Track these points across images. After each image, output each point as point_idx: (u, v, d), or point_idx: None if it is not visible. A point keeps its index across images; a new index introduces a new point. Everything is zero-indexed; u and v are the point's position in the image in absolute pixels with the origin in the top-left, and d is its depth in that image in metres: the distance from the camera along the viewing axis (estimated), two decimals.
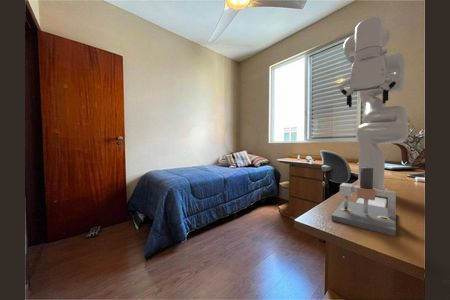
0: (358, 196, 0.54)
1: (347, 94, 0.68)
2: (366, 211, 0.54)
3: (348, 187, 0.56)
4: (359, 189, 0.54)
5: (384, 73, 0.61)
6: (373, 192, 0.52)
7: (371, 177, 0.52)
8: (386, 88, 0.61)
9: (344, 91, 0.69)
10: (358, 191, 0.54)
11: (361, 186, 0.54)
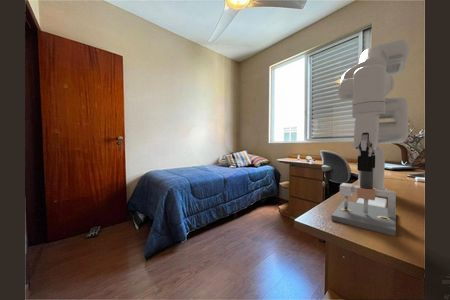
0: (358, 196, 0.54)
1: (370, 155, 0.48)
2: (366, 211, 0.54)
3: (348, 187, 0.56)
4: (359, 189, 0.54)
5: None
6: (373, 192, 0.52)
7: (371, 177, 0.52)
8: None
9: (368, 149, 0.48)
10: (358, 191, 0.54)
11: (361, 186, 0.54)
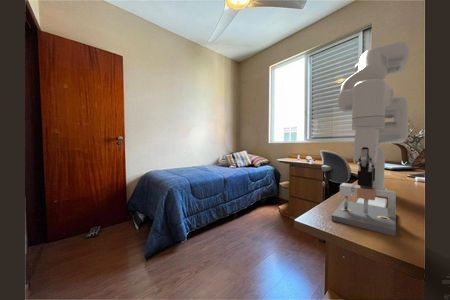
0: (358, 196, 0.54)
1: (370, 170, 0.49)
2: (366, 211, 0.54)
3: (348, 187, 0.56)
4: (359, 189, 0.54)
5: None
6: (373, 192, 0.52)
7: None
8: None
9: (368, 165, 0.48)
10: (358, 191, 0.54)
11: (361, 186, 0.54)
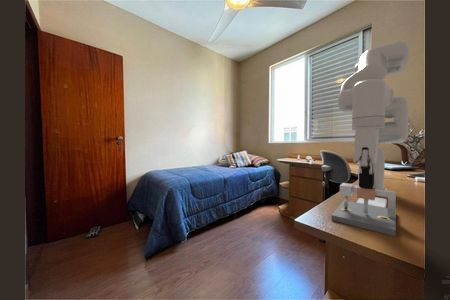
0: (358, 196, 0.54)
1: None
2: (366, 211, 0.54)
3: (348, 187, 0.56)
4: (359, 189, 0.54)
5: None
6: (373, 192, 0.52)
7: None
8: None
9: None
10: (357, 191, 0.54)
11: None
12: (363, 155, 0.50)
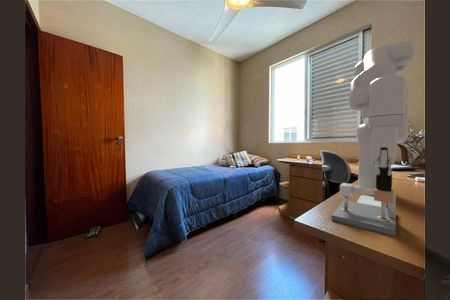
0: (375, 199, 0.51)
1: None
2: (384, 215, 0.51)
3: (348, 187, 0.56)
4: (376, 191, 0.51)
5: None
6: (392, 195, 0.49)
7: None
8: None
9: None
10: (375, 194, 0.51)
11: None
12: (382, 156, 0.47)
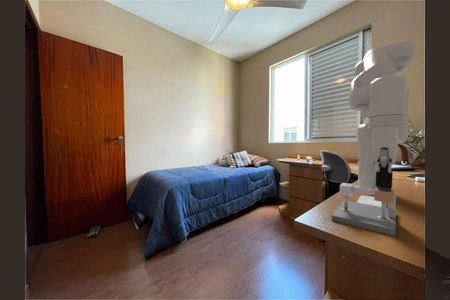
0: (375, 199, 0.51)
1: (390, 171, 0.46)
2: (384, 215, 0.51)
3: (348, 187, 0.56)
4: (377, 191, 0.51)
5: None
6: (392, 195, 0.49)
7: None
8: None
9: None
10: (375, 194, 0.51)
11: (379, 188, 0.51)
12: None
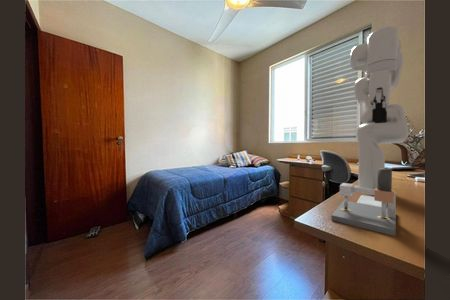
0: (375, 199, 0.51)
1: None
2: (384, 215, 0.51)
3: (348, 187, 0.56)
4: (377, 191, 0.51)
5: None
6: (392, 195, 0.49)
7: (389, 179, 0.49)
8: None
9: (382, 101, 0.55)
10: (375, 194, 0.51)
11: (379, 188, 0.51)
12: None
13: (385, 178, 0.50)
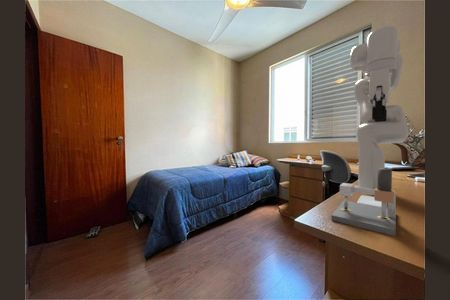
0: (375, 199, 0.51)
1: (384, 104, 0.56)
2: (384, 215, 0.51)
3: (348, 187, 0.56)
4: (377, 191, 0.51)
5: None
6: (392, 195, 0.49)
7: (389, 179, 0.49)
8: None
9: (382, 99, 0.55)
10: (375, 194, 0.51)
11: (379, 188, 0.51)
12: None
13: (385, 178, 0.50)
